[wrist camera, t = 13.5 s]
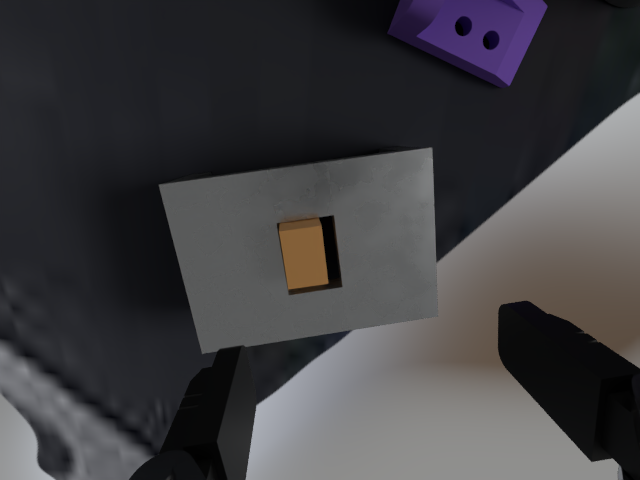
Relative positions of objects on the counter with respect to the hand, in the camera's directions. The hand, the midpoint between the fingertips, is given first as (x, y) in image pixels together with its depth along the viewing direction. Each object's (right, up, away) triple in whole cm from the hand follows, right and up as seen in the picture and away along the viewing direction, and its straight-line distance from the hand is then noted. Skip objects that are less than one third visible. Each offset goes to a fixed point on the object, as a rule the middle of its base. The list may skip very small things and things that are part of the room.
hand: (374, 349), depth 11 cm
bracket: (+11, +23, +20) cm, 33 cm away
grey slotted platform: (-3, +4, +24) cm, 24 cm away
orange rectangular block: (-4, +5, +24) cm, 24 cm away
